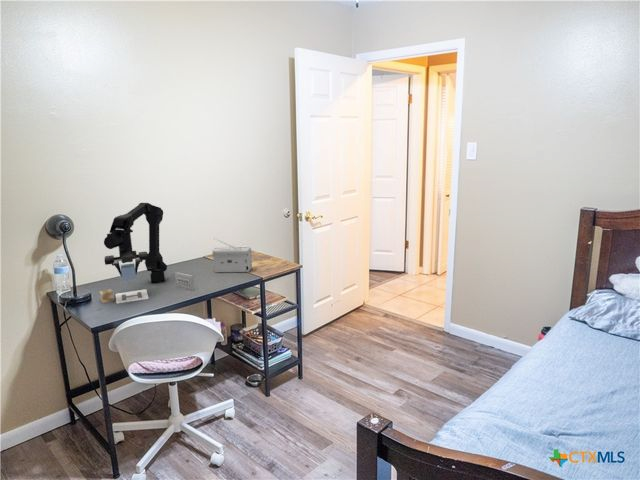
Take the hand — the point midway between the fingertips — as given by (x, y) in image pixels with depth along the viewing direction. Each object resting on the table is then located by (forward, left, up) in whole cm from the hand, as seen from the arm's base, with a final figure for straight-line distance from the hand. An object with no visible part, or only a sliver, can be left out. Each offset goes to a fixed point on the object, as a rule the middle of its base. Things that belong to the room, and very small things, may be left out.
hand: (128, 275), depth 211 cm
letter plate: (0, 0, -11) cm, 11 cm away
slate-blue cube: (0, 0, -1) cm, 1 cm away
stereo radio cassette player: (-54, -18, -11) cm, 58 cm away
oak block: (+10, +1, -11) cm, 15 cm away
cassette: (-25, -1, -11) cm, 28 cm away
